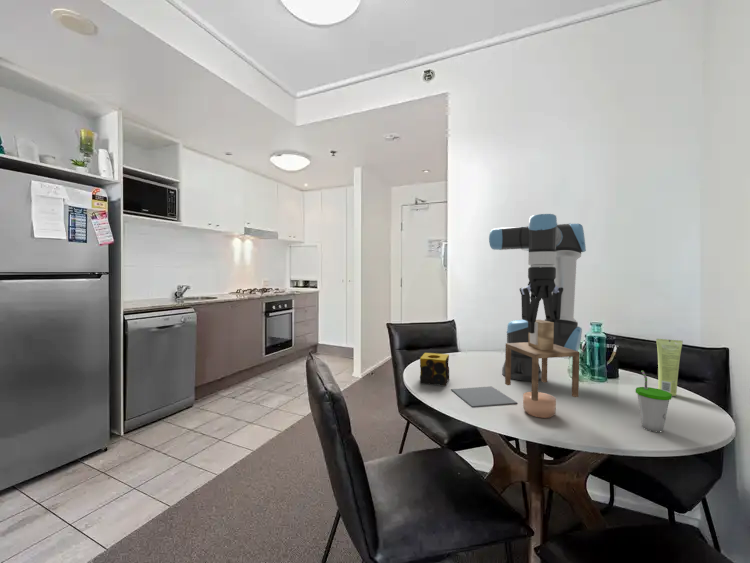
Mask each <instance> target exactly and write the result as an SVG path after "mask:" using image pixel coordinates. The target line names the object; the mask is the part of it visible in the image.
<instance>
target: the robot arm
mask: <svg viewBox="0 0 750 563" xmlns="http://www.w3.org/2000/svg"><path fill="white" fill-rule="evenodd" d="M557 220H558V219H557V215H556V214H554V213H539V214H534V215H531V216H530V217H529V220H528V225H526V226H510V227H497V228H493V229H491V230H490V232H489V236H488V241H489V247H490V248H491V249H492V250H493V251H495V250H498V251H503V250H504V251H507V250H522V251H524V252H528V265H529V266H530V267H528V269H527V271H528V272H527V278H528V283H527V286H524V287H520V288H519V292H520V296H521V299H520V300H521V319H516V320H511V321H509V322H508V324H507V327H506V328H507V329H506V343H523V342H528V340H529V333H530V343H532V344H535V345H538V323H536V320H537V316H538V313H539V312H538V311H539V306H540V301H542V304H543V309H544V315H545V318H544V320H545V321H549V322H554V337H553V344H555V345H559V346H562V347H565V348H569V349H572V350H575V351H578V352H579V350H580V345H581V342H582V341H581V340H582V333H583V328H582V327H580V326H578V321H577V320H576V319H575V318H574V316H575V315H574V314H575V296H576V280H577V279H576V278H577V277H576V274H577V260H579V259H580V258H581V257H582V253H585V252H586V251H587V249H586V248H587V247H586V238H585V231H584V226H583V224H581V223H571V222H570V223H562V224H559V223H558V221H557ZM571 357H572V358H573V356H571ZM571 357H570V358H571ZM501 373H502V376H504V377H505V361H504V363H503V364H502V368H501ZM541 375H542V368H541V366H540V365H539V371H538V381H540V380H541ZM511 380H514V381H515V380H517V381H523V382H532V357H529V356H527V355H524V354H522V353H519V352H517V351H514V350H512V349H511Z"/></svg>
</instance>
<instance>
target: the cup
mask: <svg viewBox="0 0 750 563" xmlns="http://www.w3.org/2000/svg"><path fill="white" fill-rule="evenodd" d="M640 372H641V374H642V376H643V377H644V386H639V387H636V388H635V394H637V399H638V400H637V401H638V407H639V409H638V410H639V415H640V423H641V427H642V428H643V429H644V428H645V429H644V430H646V429H647V431H649V430H651V431H650V432H653V431H657V432H656V433H661V432H660V431H663V432H664V427H665V421H666V417H667V414H668V413H667V412H668V408H669V404H670V400H672V398H673V396H672V394H671V393H669V392H667V391H664V390H660V389H658V388H654V387H648V377H647V375H646V373H645V371H644V370H641V371H640Z"/></svg>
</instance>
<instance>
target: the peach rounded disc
mask: <svg viewBox="0 0 750 563" xmlns="http://www.w3.org/2000/svg"><path fill="white" fill-rule="evenodd" d="M522 397H523V399H522V401H523V402H522V409H523V410H524V411H525V412H526V413H527V414H528V415H529V416H532V417H535V418H540V419H541V418H542V419H548V418H549V419H550V418H551V417H553V416H555V415H556V414H557V398H556V397H555V396H554V395H551V394H549V393H546V392H540V391H538V401H533V400H532V399H531V397H532V391H527V392H524V393H523V395H522Z"/></svg>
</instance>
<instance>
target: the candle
mask: <svg viewBox="0 0 750 563" xmlns="http://www.w3.org/2000/svg"><path fill="white" fill-rule="evenodd" d="M449 359H450V354H447V353H446V354H445V353H437V352H436V353H434V352H424V353H423V354H422V355H421V356H420V358H419V367H420V372H419V373H420V376H419V383H420V384H424V385H432V386H433V385H434V386H441V387H445V386H447V384H448V382H449V380H450V367H449Z"/></svg>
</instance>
